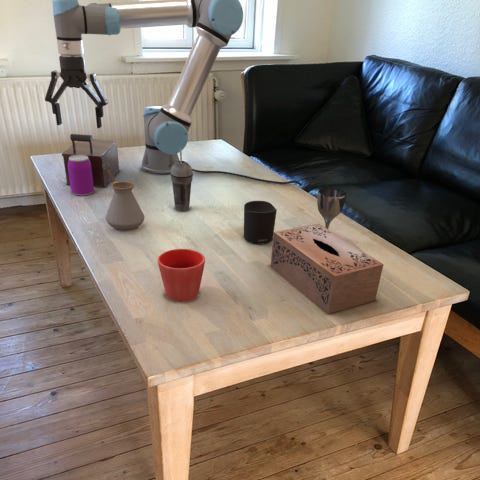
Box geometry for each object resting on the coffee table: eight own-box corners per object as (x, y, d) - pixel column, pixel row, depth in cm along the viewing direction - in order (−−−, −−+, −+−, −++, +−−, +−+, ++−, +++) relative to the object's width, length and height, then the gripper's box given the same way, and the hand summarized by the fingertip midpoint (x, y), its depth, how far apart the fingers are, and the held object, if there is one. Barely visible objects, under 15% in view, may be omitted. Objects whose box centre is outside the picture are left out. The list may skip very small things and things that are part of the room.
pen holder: (237, 241, 150) (239, 209, 145) (249, 229, 157) (251, 198, 152) (267, 247, 147) (270, 215, 142) (278, 235, 155) (281, 204, 149)
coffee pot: (150, 230, 154) (148, 181, 145) (113, 237, 149) (108, 186, 140) (126, 206, 169) (122, 160, 160) (91, 211, 164) (86, 164, 155)
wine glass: (340, 237, 156) (348, 190, 147) (335, 248, 149) (343, 199, 141) (314, 233, 158) (321, 185, 149) (309, 243, 151) (315, 194, 143)
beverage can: (87, 187, 182) (83, 152, 175) (98, 193, 177) (94, 158, 170) (67, 191, 177) (62, 156, 170) (78, 198, 172) (73, 162, 166)
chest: (104, 187, 182) (101, 158, 176) (67, 184, 183) (62, 155, 177) (119, 170, 198) (117, 143, 192) (84, 168, 199) (81, 140, 193)
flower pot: (160, 283, 128) (158, 247, 122) (204, 283, 129) (204, 248, 124) (158, 305, 119) (156, 268, 114) (205, 305, 120) (205, 268, 115)
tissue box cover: (375, 300, 126) (383, 264, 120) (328, 313, 120) (334, 276, 114) (314, 256, 144) (318, 223, 139) (270, 266, 138) (273, 232, 133)
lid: (100, 158, 175) (98, 137, 172) (61, 156, 176) (58, 134, 172) (117, 143, 192) (115, 123, 188) (81, 140, 193) (79, 121, 189)
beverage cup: (195, 205, 172) (195, 144, 161) (191, 213, 166) (190, 151, 155) (173, 203, 172) (172, 143, 161) (169, 211, 166) (167, 149, 155)
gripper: (27, 54, 158) (38, 125, 169) (107, 59, 157) (113, 131, 169) (36, 51, 164) (47, 120, 176) (113, 56, 163) (119, 125, 175)
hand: (79, 125), depth 172 cm, fingers open, 13 cm apart
